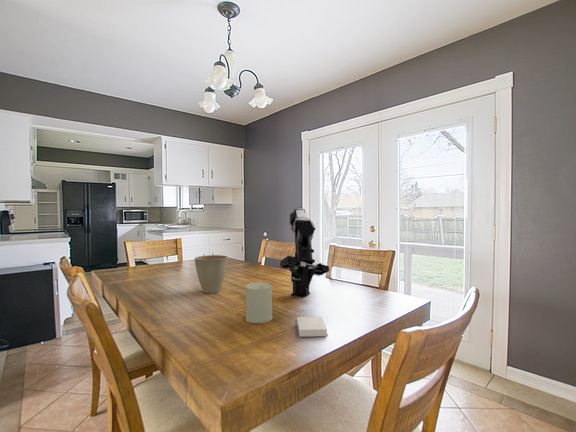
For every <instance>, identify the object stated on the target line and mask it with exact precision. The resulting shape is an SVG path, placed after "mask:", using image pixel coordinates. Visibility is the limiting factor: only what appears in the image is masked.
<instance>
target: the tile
mask: <svg viewBox="0 0 576 432" xmlns="http://www.w3.org/2000/svg"><path fill="white" fill-rule="evenodd" d="M296 320H297V326H298V332H299V337H298V338H304V337H303V336H319V337H328V336H327V335H328V330H327V327H326V324H325V322H324V320H323V317H322V316H297V317H296Z"/></svg>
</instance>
